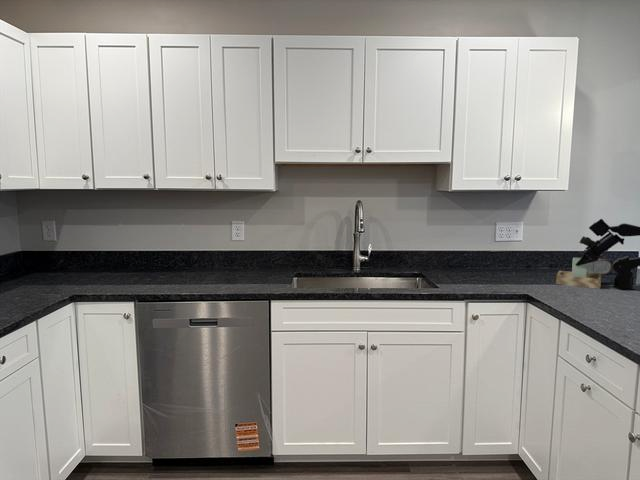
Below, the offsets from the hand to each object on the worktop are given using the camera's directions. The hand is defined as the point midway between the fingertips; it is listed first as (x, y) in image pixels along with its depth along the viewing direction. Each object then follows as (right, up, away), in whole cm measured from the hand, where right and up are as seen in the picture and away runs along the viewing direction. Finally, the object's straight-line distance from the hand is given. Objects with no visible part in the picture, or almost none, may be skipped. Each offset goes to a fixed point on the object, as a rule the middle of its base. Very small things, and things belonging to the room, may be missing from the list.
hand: (576, 264), depth 203 cm
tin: (+26, -7, +25) cm, 37 cm away
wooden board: (+1, -10, 0) cm, 10 cm away
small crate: (+1, -7, 0) cm, 7 cm away
